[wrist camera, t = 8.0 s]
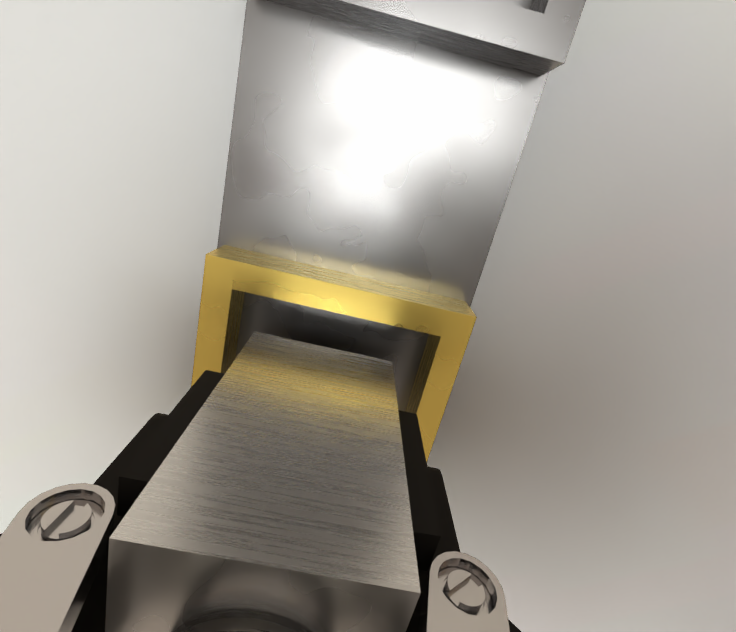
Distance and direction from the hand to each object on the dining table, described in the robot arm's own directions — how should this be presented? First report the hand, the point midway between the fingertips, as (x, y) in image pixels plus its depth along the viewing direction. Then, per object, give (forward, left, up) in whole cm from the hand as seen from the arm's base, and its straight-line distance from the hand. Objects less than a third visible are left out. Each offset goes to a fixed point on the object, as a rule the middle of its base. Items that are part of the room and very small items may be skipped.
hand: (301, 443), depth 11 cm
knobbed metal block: (0, 0, -2) cm, 2 cm away
